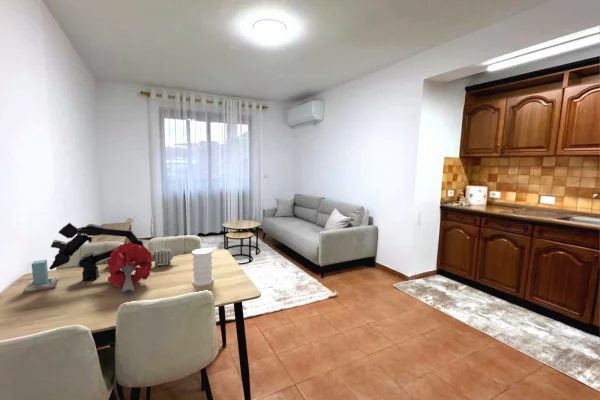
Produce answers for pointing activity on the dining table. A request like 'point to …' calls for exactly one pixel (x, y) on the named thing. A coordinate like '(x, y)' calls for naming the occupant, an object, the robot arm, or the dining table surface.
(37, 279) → the block
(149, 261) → the red model tree
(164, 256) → the toy sheep
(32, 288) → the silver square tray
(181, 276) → the dining table surface
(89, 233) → the robot arm
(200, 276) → the decorative container
